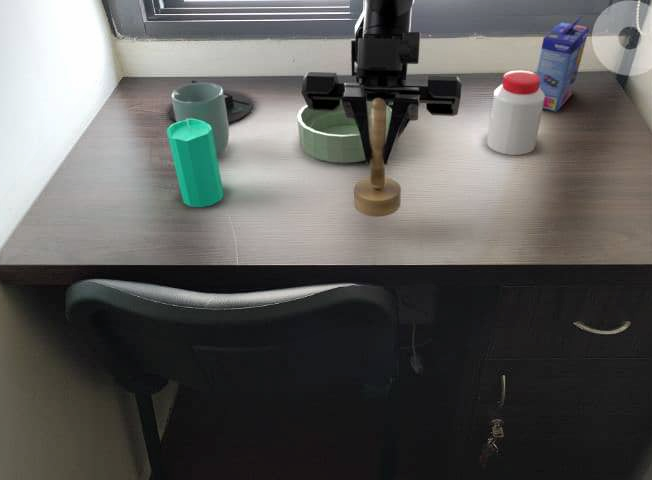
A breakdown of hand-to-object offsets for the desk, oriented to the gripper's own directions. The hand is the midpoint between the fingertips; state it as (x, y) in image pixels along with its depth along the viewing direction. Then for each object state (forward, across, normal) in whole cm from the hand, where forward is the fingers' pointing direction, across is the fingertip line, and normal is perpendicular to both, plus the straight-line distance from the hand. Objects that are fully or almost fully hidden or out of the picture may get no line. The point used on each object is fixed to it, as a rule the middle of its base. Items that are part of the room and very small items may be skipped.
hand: (376, 163), depth 73 cm
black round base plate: (-18, -34, +34) cm, 51 cm away
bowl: (-10, -8, +26) cm, 29 cm away
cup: (-7, -29, +22) cm, 38 cm away
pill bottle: (-12, +20, +28) cm, 36 cm away
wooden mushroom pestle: (+4, 0, +6) cm, 7 cm away
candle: (+2, -26, +13) cm, 29 cm away
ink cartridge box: (-25, +28, +41) cm, 55 cm away
